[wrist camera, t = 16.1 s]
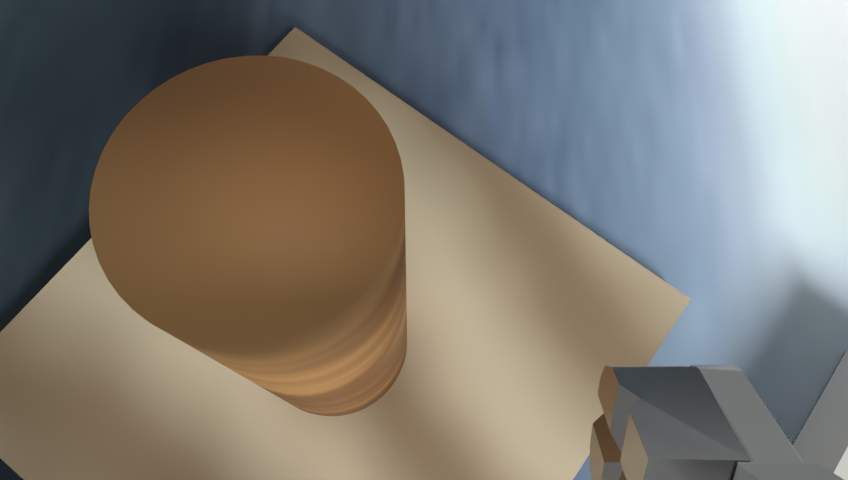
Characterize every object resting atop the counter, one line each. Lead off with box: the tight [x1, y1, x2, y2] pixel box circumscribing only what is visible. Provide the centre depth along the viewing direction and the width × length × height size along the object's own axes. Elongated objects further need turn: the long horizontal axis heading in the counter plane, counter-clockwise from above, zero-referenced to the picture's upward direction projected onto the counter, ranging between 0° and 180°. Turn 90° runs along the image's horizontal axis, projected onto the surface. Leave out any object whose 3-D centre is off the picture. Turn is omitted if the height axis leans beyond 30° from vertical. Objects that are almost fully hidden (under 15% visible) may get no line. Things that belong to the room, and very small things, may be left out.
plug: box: [89, 55, 407, 416], centre depth 16 cm, size 4×4×12 cm
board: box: [0, 27, 690, 480], centre depth 22 cm, size 16×16×1 cm
